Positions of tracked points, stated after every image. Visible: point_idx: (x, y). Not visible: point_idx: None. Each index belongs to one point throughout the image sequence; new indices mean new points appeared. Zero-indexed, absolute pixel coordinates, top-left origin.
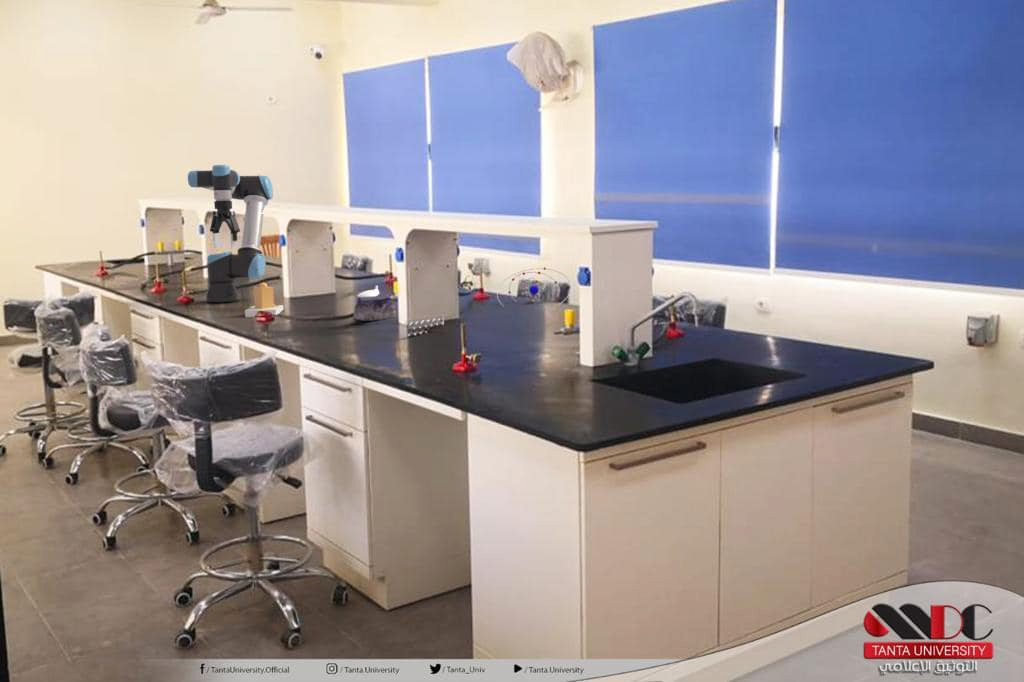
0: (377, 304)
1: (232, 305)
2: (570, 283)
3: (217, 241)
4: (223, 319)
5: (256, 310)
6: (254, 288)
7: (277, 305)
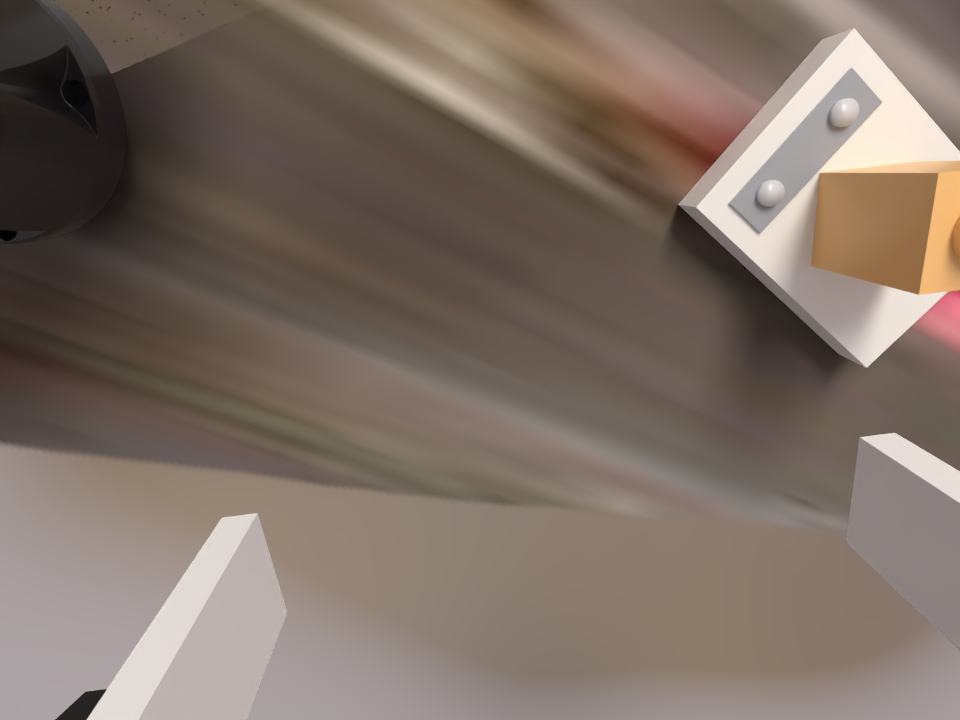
0: None
1: None
2: None
3: (222, 679)
4: (804, 463)
5: (919, 315)
6: (927, 291)
7: (858, 88)
